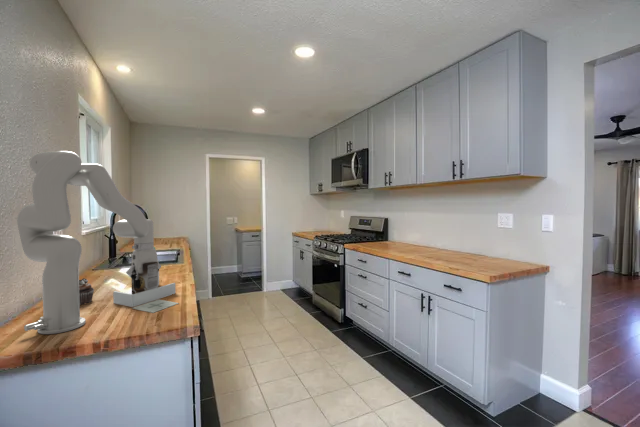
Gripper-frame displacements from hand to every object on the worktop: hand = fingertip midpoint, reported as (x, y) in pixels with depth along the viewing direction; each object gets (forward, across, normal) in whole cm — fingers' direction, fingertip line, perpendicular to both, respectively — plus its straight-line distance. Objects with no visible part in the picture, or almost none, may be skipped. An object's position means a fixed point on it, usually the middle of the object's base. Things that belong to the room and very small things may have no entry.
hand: (144, 285), depth 138 cm
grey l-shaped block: (+5, 0, -1) cm, 5 cm away
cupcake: (+6, -16, +19) cm, 25 cm away
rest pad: (+5, -6, -15) cm, 17 cm away
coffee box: (+6, 0, 0) cm, 6 cm away
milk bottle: (+6, +14, +15) cm, 21 cm away
